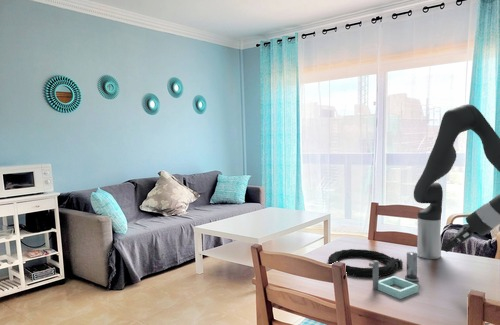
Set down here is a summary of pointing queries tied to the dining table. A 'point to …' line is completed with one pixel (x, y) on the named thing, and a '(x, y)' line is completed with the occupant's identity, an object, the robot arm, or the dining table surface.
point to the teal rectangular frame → (385, 284)
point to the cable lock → (367, 272)
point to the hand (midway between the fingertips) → (446, 246)
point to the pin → (411, 267)
